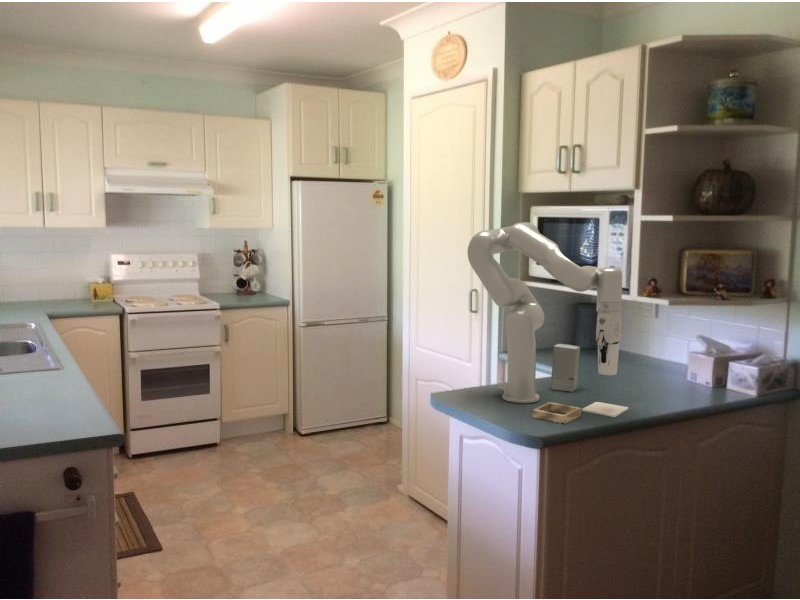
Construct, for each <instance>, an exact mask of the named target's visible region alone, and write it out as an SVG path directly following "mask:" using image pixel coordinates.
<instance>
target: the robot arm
mask: <svg viewBox="0 0 800 600" xmlns="http://www.w3.org/2000/svg"><path fill="white" fill-rule="evenodd" d="M511 251H519V252H520V253H521V254H522V255H525V256H526V257H527V258H530V259H531V260H532V261H534V262H536V263H537V264H538V265H540V266H541V267H543V269H544V270H545V271H546V272H547V273H548V274H549V275H550V276H552V278H554V279H555V280H556V281H558V282H560V283H561V284H562V285H564V286H566V287H567V288H569V289H570V290H573V291H575V292H578V293H579V292H580V293H582V292H583V293H584V292H587V291H588V290H593V289H596V312H597V318H596V327H595V328H596V329H595V340H596V342H597V348H598V347H599V352H600V353H601V362H602V363H606V353H608V345H609V344H616V342H620V341H621V340H622V338H623V331H622V330H623V327H622V326H623V325H622V323H623V321H622V298H623V270H622V269H620V268H618V267H609V266H607V267H598V266H592V265H585V266H584V265H583V266H580V265H579V264H576V263H575V262H573V261H571V260H570V259H569V258H568V257H566V256H565V255H564V254H563V253H562V251H561V250H560V248H559V245H558V244H557V243H556V242H555V241H553V240H552V239H549V238H548V237H547V236H544V235H543V234H541V233H540V231H539V229H538V227H537V226H536V225H535V224H534V223H531V222H527V221H526V222H525V221H524V222H517V223H514V224H512V225H510V226H505V227H501V228H495V229H486V230H485V229H484V230H480V231H478V232H477V233H475V234H474V235H473V236H472V238H471V239H470V241H469V243H468V246H467V259H468V262H469V265H470V266H471V269H472V270H473V271H474V273H475V274H476V276H477V277H478V279H479V280H480V281H481V284H482V285H483V287H484V289H485V290H486V291H487V293H488V295H490V297H491V299H492V301H493V302H494V304H495V305H496V306H497V307H498V308H500V309H501V308H502V309H507V308H508V309H509V308H510V310H511V311H510V312H509V313H508V315H507V317H506V320H505V330H506V338H507V339H506V341H507V349H506V350H507V362H506V363H507V364H506V365H507V367H506V370H507V372H506V383H504V382H499V383H498V384H497V390H501V391H503V392H502V394H501V395H502V396H501V397H502V399H503V400H505V402H506V401H507V402H509V403H514V404H533V403H536V402H538V401H540V397H541V396H540V395H539V394H538V393H537V392H536V376H537V375H536V371H537V370H536V369H537V363H536V362H537V342H536V336H535V334H536V333H535V331H537V330H539V329H540V328H541V327H542V326H543V325H544V321H545V312H544V311H543V308H542V307H541V305H540V303H539V302H538V300H537V299H536V298H535V296H534V294H533V293H532V292H531V290H530V289H529V287H528V286H527V284H526V283H525V282H523V281H522V280H521V279H519V278H517V277H516V278H515V277H509V276H508V274H507V272H505V270H504V269H503V266H502V265H501V264H500V263H499V262H498V261H497V260H496V259H495V257H494V255H496V254H502V253H506V252H511ZM603 341H606V343H603ZM604 345H606V347H605V346H604ZM599 364H600V357H599ZM608 365H609V364H608Z"/></svg>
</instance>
